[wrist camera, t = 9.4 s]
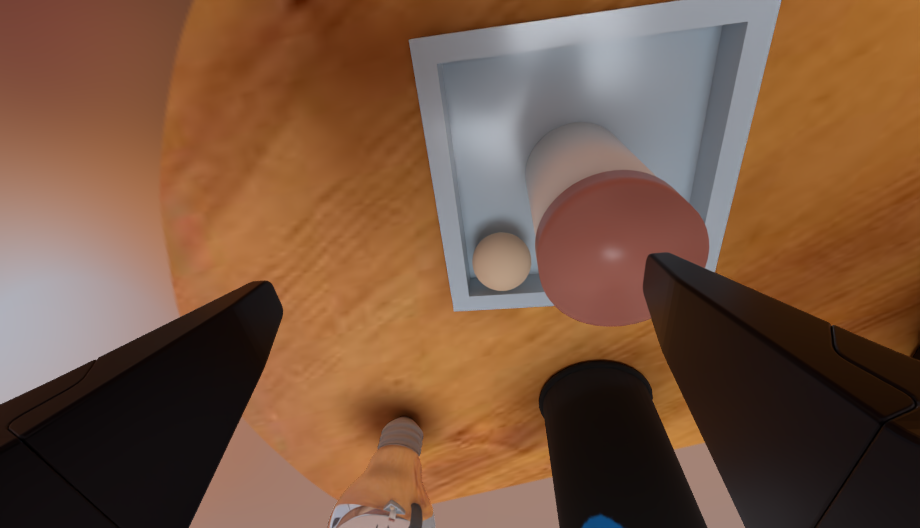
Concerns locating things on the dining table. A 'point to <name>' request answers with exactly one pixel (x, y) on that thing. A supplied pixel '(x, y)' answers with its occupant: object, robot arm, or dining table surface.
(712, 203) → the dish
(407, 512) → the light bulb
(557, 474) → the aerosol can
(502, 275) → the cork ball
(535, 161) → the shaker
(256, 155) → the dining table surface
